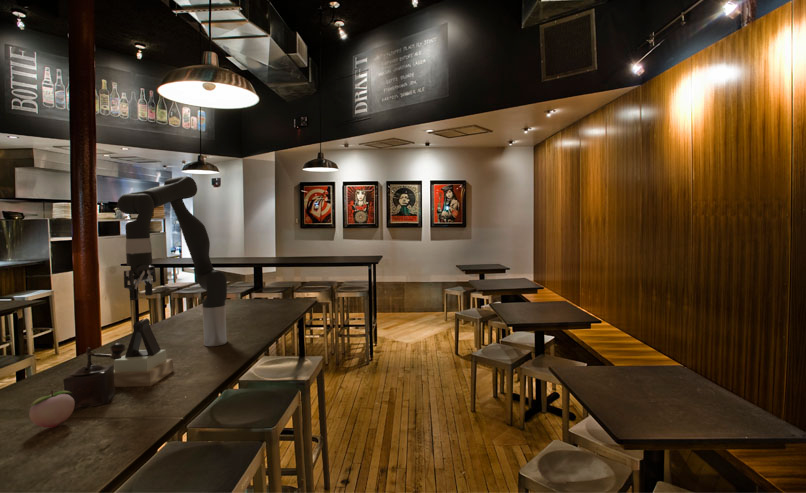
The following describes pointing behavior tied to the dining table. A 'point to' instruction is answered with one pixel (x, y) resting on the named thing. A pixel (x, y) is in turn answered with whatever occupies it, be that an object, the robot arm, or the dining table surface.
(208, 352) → the dining table surface
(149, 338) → the phone stand
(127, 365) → the tower top
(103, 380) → the manual coffee grinder
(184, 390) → the dining table surface
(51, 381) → the dining table surface
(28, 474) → the dining table surface
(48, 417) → the decorative fruit
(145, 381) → the tower base
